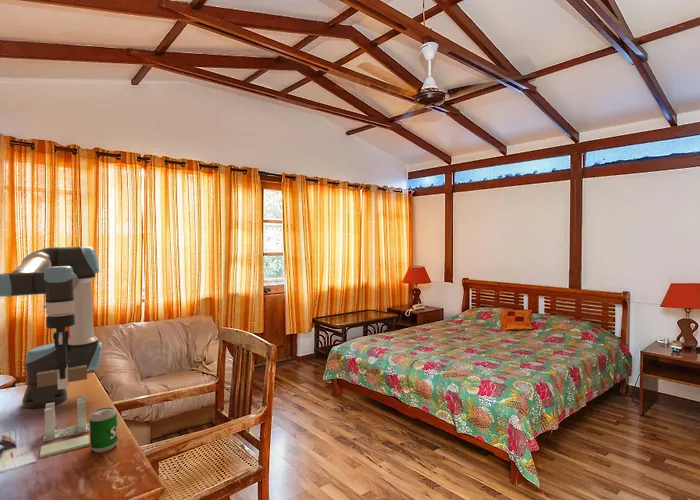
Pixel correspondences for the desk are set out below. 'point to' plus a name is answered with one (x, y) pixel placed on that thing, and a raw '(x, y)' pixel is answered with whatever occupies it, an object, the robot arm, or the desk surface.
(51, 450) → the mat
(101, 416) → the soda can
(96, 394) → the desk surface
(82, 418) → the rack
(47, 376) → the rail
